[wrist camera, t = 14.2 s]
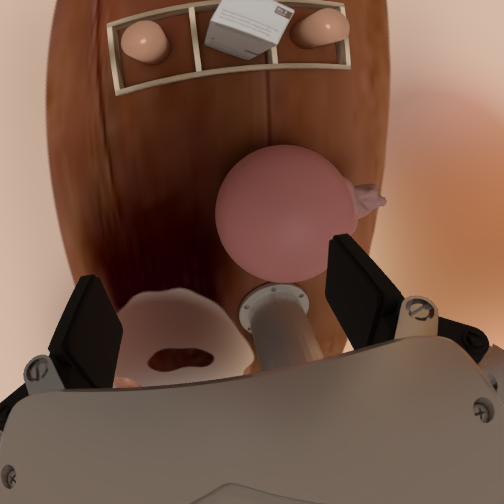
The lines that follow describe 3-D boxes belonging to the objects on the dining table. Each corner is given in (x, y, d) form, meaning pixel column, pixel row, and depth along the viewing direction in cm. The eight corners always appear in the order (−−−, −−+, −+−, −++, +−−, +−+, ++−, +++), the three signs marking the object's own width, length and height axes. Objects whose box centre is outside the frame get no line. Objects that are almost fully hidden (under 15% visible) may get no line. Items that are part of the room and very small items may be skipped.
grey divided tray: (341, 70, 30) (375, 69, 23) (121, 95, 27) (100, 97, 21) (335, 7, 25) (366, -6, 18) (112, 27, 22) (90, 13, 15)
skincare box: (202, 45, 26) (204, 22, 16) (217, 15, 24) (227, -19, 14) (250, 62, 28) (276, 49, 18) (264, 33, 26) (297, 8, 16)
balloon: (347, 225, 43) (401, 284, 31) (221, 248, 41) (235, 325, 29) (350, 128, 35) (424, 158, 22) (203, 143, 33) (206, 181, 20)
